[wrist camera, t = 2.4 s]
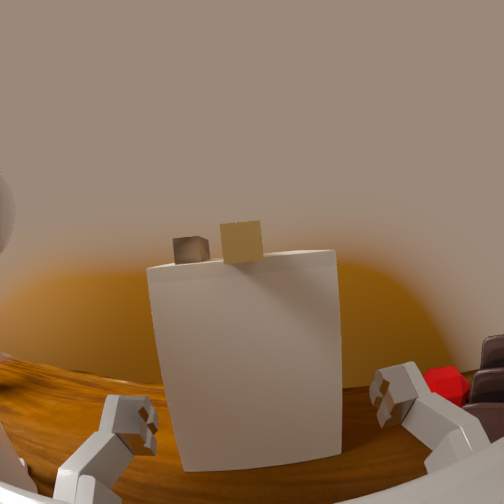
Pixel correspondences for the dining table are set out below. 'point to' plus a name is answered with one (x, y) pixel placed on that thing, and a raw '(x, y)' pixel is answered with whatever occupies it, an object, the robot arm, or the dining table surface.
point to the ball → (448, 384)
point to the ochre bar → (241, 242)
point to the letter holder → (489, 389)
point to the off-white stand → (251, 359)
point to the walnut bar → (190, 250)
